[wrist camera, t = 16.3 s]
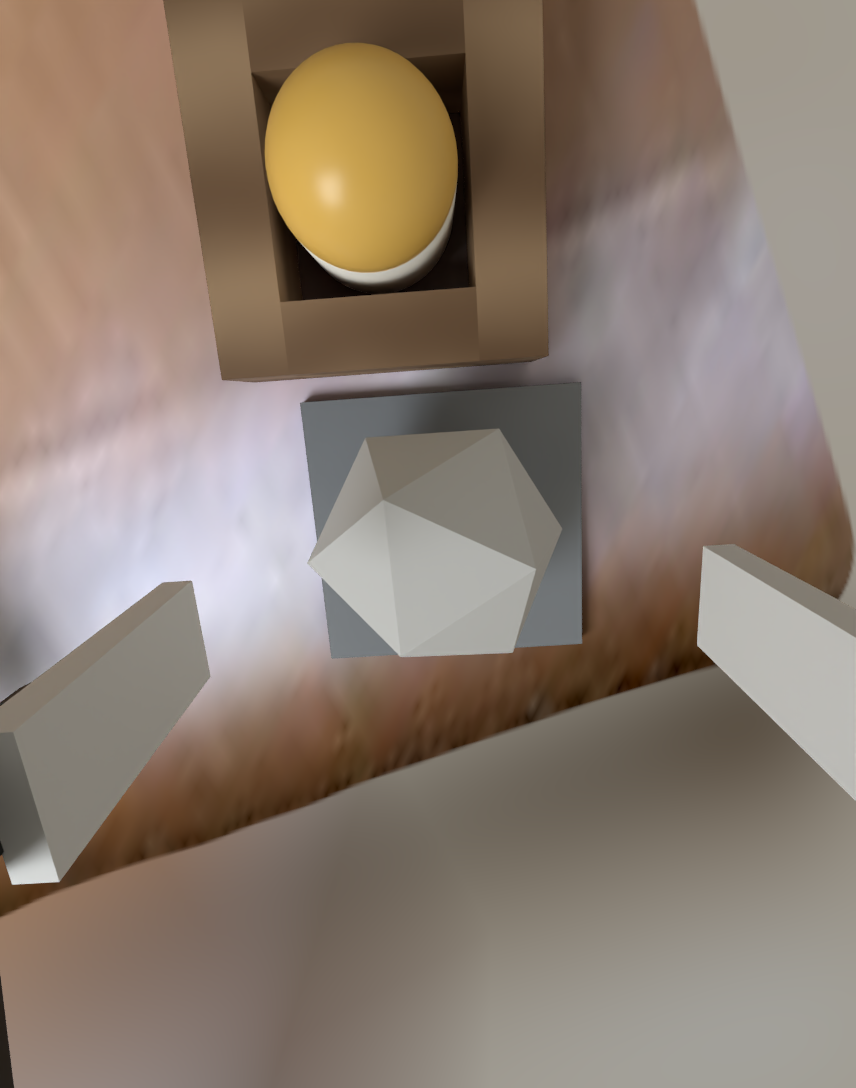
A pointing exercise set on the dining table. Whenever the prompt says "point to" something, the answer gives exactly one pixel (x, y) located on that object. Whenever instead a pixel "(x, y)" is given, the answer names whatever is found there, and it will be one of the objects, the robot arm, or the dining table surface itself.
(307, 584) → the dining table surface
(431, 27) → the brown square tray
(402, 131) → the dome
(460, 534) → the die
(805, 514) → the dining table surface
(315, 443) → the coaster
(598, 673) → the dining table surface
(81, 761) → the robot arm
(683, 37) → the dining table surface
